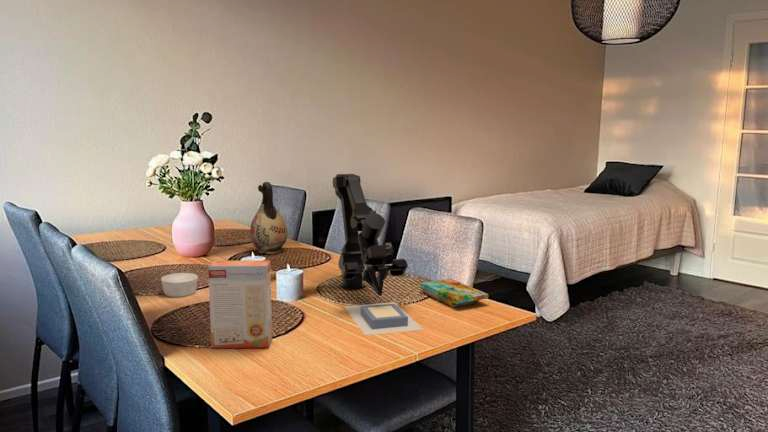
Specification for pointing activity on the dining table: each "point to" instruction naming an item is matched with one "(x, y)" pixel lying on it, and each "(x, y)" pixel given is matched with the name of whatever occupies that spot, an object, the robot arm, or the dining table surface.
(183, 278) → the ramekin
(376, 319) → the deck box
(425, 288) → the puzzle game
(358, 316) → the mat
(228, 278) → the cracker box
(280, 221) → the ceramic jug
